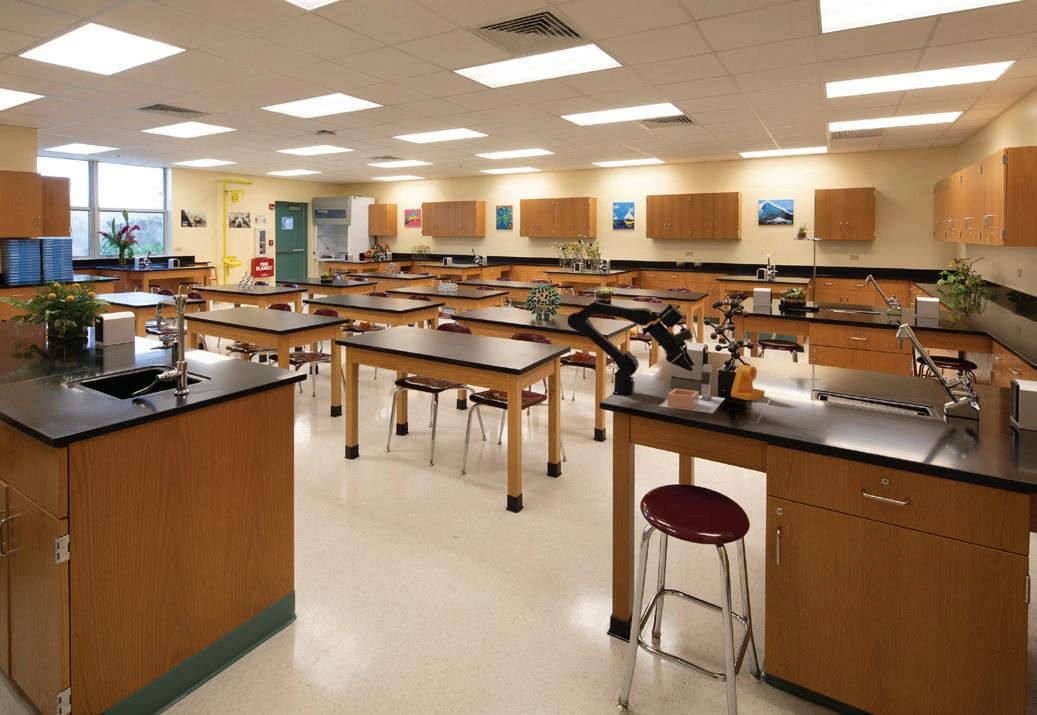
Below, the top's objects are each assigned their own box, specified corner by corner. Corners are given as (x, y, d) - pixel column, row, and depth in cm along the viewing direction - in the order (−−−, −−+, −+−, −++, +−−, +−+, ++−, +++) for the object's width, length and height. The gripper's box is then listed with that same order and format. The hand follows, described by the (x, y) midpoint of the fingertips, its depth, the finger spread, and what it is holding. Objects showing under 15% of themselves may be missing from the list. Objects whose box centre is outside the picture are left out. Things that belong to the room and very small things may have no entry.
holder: (667, 406, 204) (668, 393, 203) (673, 400, 211) (674, 388, 210) (692, 409, 200) (693, 396, 199) (698, 403, 207) (699, 391, 206)
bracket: (748, 402, 210) (751, 369, 208) (730, 398, 216) (733, 366, 214) (765, 398, 217) (767, 366, 215) (747, 394, 222) (749, 362, 220)
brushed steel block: (697, 399, 212) (699, 365, 210) (700, 397, 216) (702, 363, 214) (710, 401, 210) (712, 367, 208) (712, 398, 214) (715, 364, 212)
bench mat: (658, 406, 204) (658, 405, 204) (675, 393, 223) (675, 392, 223) (712, 414, 196) (712, 413, 196) (725, 399, 215) (725, 398, 215)
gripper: (677, 324, 202) (709, 358, 201) (681, 318, 220) (710, 348, 218) (653, 346, 206) (684, 379, 205) (658, 338, 224) (687, 368, 222)
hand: (692, 368), depth 213 cm, fingers open, 9 cm apart
